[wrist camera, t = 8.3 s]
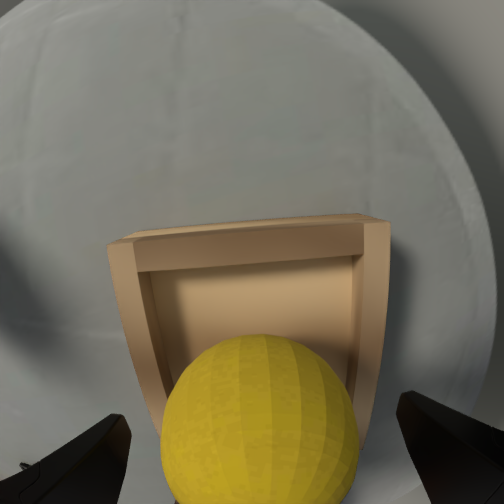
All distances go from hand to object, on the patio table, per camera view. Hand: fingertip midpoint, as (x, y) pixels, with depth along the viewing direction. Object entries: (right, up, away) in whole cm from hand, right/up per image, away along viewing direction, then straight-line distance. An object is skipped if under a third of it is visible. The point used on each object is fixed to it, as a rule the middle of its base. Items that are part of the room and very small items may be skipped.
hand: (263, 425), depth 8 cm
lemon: (0, +1, +4) cm, 4 cm away
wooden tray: (0, +1, +6) cm, 6 cm away
